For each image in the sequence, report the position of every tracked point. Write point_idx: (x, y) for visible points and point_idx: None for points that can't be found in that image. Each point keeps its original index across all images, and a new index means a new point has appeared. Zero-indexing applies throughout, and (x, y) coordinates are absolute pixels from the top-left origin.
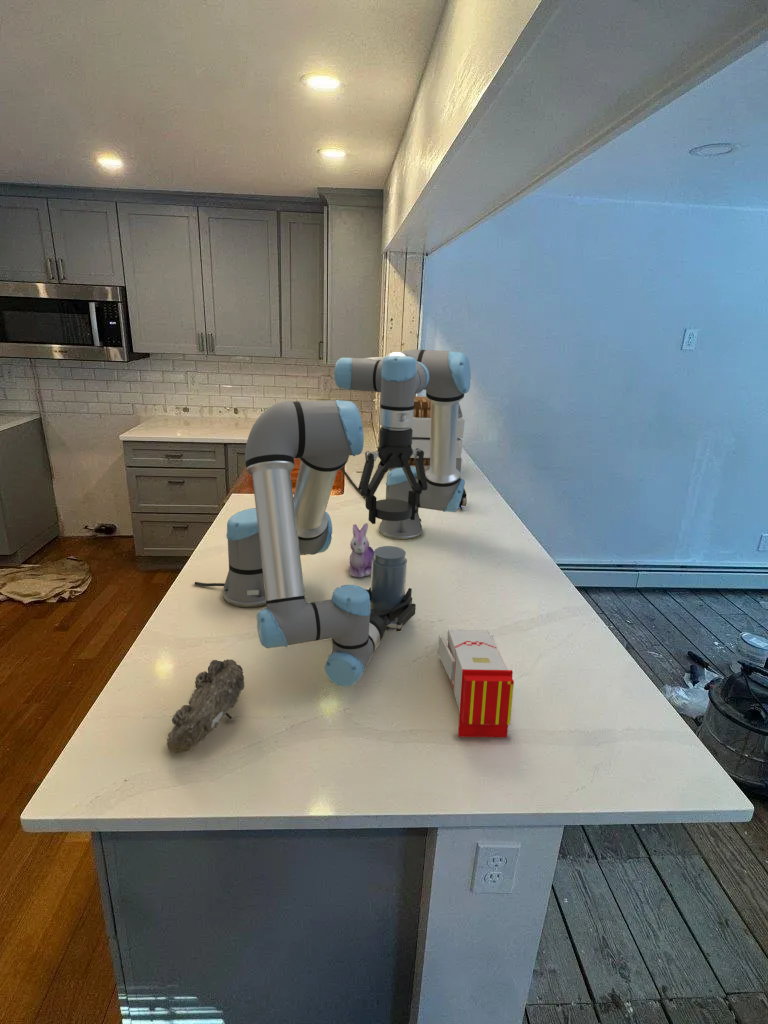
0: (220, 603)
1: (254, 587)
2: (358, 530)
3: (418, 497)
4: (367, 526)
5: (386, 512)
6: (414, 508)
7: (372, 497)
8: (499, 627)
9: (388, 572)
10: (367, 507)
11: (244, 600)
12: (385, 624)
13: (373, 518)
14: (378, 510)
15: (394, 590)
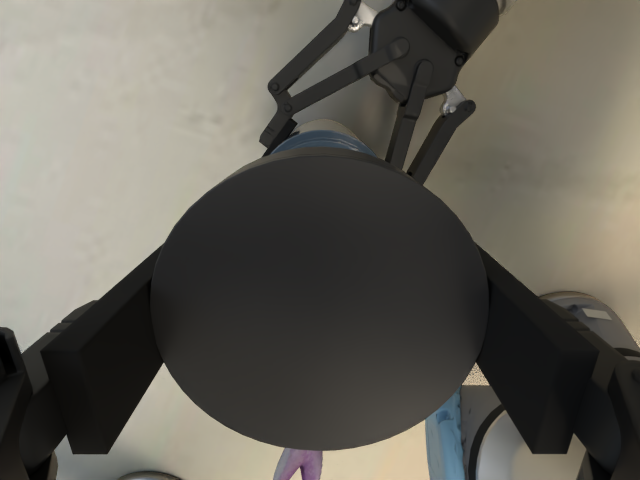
0: (625, 325)
1: (598, 323)
2: (305, 465)
3: (40, 344)
4: (276, 475)
5: (436, 198)
6: (138, 270)
7: (585, 374)
8: (52, 37)
9: (350, 134)
10: (567, 312)
11: (603, 305)
12: (395, 5)
13: (479, 251)
14: (480, 261)
15: (323, 124)
